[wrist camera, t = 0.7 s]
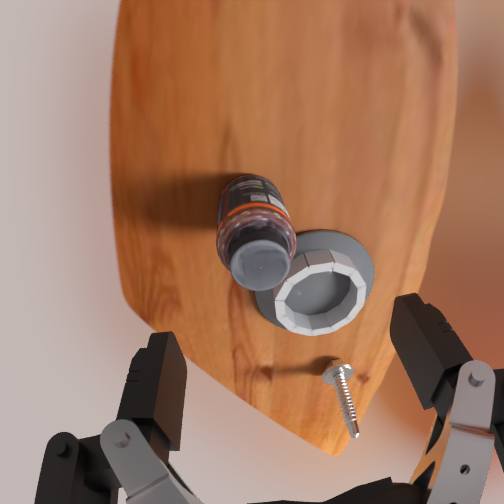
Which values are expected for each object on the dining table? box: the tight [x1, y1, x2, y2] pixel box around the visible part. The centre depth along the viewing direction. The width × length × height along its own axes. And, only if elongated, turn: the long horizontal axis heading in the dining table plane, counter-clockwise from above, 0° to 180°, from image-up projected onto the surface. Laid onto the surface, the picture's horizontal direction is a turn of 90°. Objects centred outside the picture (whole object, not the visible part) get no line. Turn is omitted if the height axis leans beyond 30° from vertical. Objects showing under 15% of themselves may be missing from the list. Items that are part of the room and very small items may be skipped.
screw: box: [322, 359, 359, 438], centre depth 38 cm, size 13×5×5 cm
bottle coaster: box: [255, 229, 374, 336], centre depth 34 cm, size 14×14×3 cm
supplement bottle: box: [216, 175, 297, 291], centre depth 25 cm, size 6×6×11 cm
